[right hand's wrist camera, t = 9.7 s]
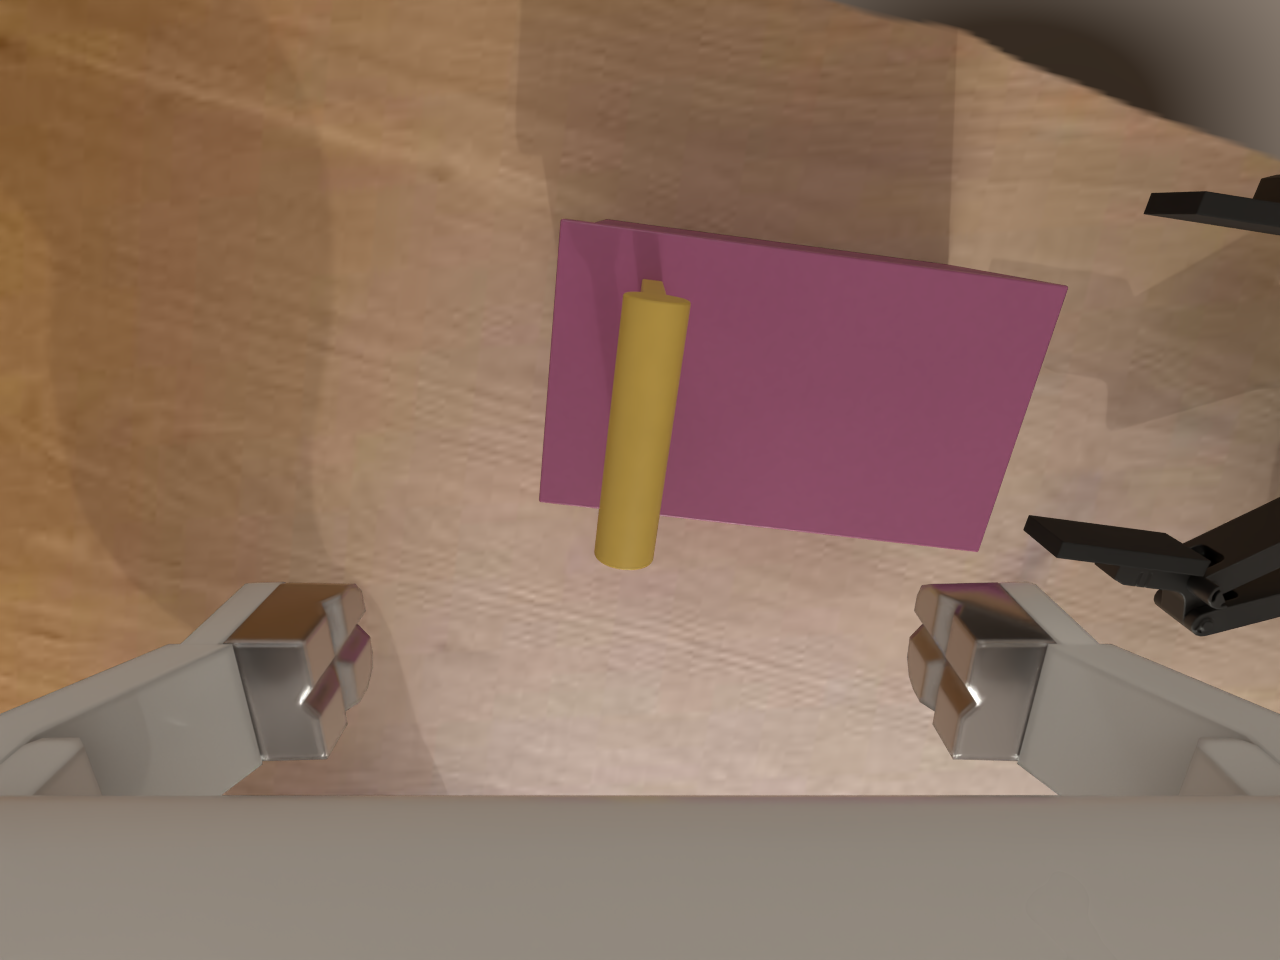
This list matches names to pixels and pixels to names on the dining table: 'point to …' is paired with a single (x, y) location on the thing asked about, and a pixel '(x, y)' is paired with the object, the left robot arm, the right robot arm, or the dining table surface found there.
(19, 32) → the dining table surface
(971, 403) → the lid
